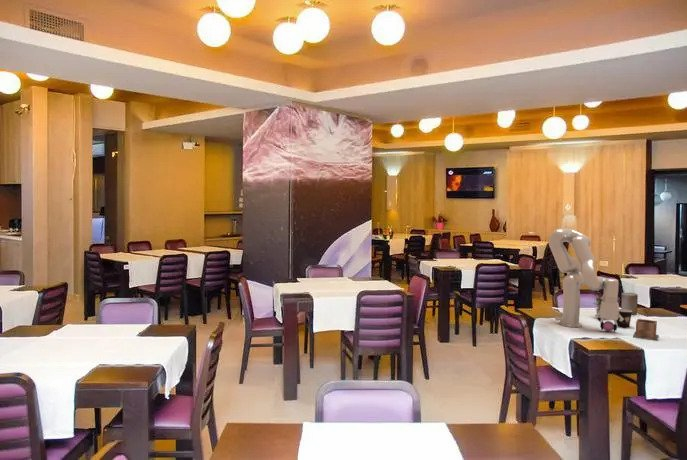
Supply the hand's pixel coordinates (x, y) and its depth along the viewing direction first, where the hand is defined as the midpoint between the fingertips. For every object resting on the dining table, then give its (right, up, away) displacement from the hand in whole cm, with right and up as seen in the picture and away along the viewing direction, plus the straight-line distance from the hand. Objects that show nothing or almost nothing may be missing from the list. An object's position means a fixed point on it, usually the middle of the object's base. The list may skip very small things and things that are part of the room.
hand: (608, 329), depth 323 cm
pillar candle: (+39, +1, +51) cm, 64 cm away
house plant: (+11, +1, +35) cm, 36 cm away
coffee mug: (+14, -1, +14) cm, 19 cm away
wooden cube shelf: (+16, -2, -10) cm, 19 cm away
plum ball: (0, -1, 0) cm, 1 cm away
